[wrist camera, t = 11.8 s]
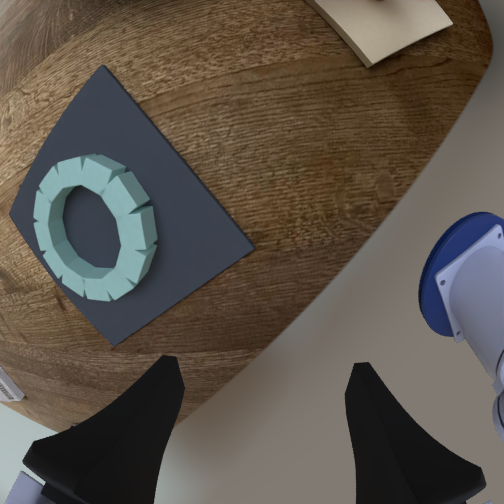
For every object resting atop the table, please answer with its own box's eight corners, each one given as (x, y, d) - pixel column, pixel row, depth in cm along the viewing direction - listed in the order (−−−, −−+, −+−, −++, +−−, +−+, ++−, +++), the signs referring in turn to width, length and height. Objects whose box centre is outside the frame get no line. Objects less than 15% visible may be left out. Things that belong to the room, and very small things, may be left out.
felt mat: (255, 246, 19) (254, 249, 19) (116, 343, 25) (114, 346, 25) (104, 65, 15) (101, 64, 14) (11, 212, 20) (8, 214, 20)
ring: (185, 249, 20) (176, 261, 18) (98, 306, 23) (87, 318, 21) (102, 124, 16) (86, 125, 14) (33, 209, 19) (19, 216, 18)
